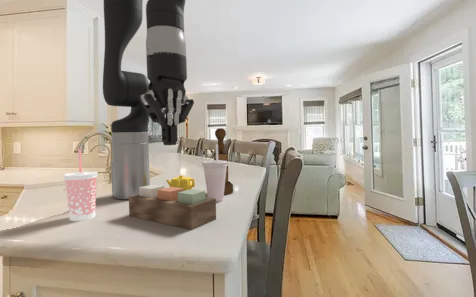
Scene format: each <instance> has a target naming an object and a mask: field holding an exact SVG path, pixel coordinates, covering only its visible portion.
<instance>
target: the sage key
mask: <svg viewBox="0 0 476 297" xmlns="http://www.w3.org/2000/svg"><path fill="white" fill-rule="evenodd" d="M205 197H206V190H200V189H193V188H192V189H190V190H186V191H182V192H178V202H180V203H186V204H196V203H199V202H202V201H205Z"/></svg>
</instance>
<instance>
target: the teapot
mask: <svg viewBox="0 0 476 297" xmlns="http://www.w3.org/2000/svg"><path fill="white" fill-rule="evenodd" d="M165 181H166V183H167V184H168V187H177V188H184V191H186V190H190V189H193V188H194V187H195V186H196V179H194V178H192V177H191V176H184V175H179V176H175V177H173V178H171V180H170V179H166V180H165Z"/></svg>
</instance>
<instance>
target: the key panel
mask: <svg viewBox="0 0 476 297" xmlns="http://www.w3.org/2000/svg"><path fill="white" fill-rule="evenodd" d="M216 203H217V202H216V199H214V198H208V196H205V201H202V202H199V203H196V204H186V203H180V202H178V199H176V200H172V201H168V200H161V199H158V196H156V197H152V198H149V197H143V196H139V194H137V195H133V196H129V199H128V212H129V217H134V218H137V219H143V220H147V221H152V222H155V223H161V224H165V225H170V226H172V227H173V226H174V227H178V228H183V229H187V230H194V229H197V228H199V227H201V226H204V225H206V224H208V223H210V222H212V221H214V220H217V204H216Z"/></svg>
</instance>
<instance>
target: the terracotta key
mask: <svg viewBox="0 0 476 297" xmlns="http://www.w3.org/2000/svg"><path fill="white" fill-rule="evenodd" d="M157 191H158V199H161V200H168V201H172V200H176V199H178V192H182V191H184V188H177V187H170V186H168V187H164V188H163V189H159V190H157Z"/></svg>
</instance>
